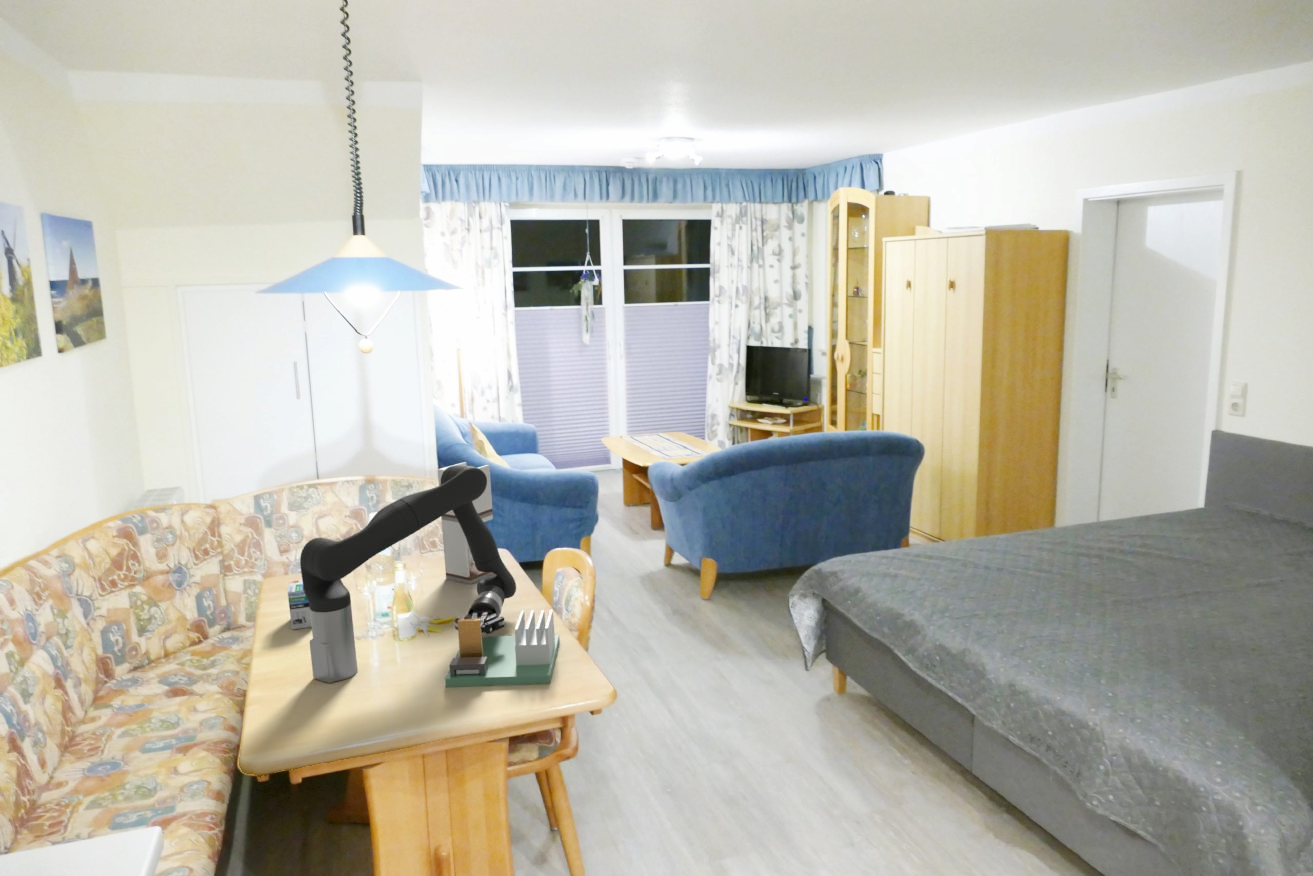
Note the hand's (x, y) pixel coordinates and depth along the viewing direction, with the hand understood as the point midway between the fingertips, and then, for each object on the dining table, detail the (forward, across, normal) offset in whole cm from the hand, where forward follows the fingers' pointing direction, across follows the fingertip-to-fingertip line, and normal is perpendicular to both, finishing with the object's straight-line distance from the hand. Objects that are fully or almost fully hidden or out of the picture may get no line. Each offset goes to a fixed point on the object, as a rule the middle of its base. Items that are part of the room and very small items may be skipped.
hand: (473, 636), depth 218 cm
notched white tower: (-68, -14, +8) cm, 70 cm away
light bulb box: (-34, -54, +8) cm, 64 cm away
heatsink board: (-2, +7, +8) cm, 11 cm away
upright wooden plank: (+5, 0, +6) cm, 8 cm away
